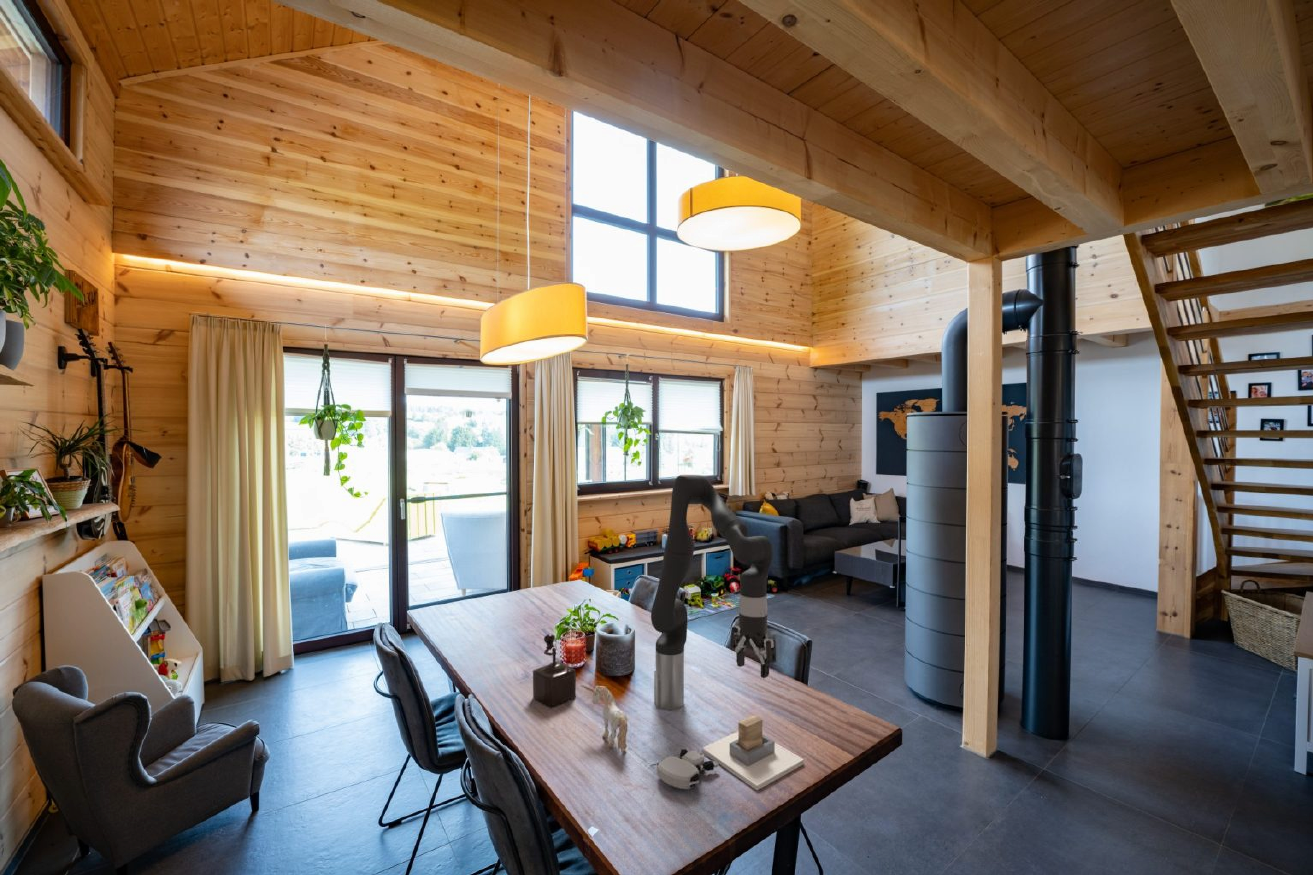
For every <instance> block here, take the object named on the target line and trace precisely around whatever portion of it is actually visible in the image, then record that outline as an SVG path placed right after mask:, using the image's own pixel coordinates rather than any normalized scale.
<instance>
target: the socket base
mask: <svg viewBox="0 0 1313 875" xmlns="http://www.w3.org/2000/svg"><path fill="white" fill-rule="evenodd" d="M738 733H739V730H738V731H736V732H733V733H732V734H730V735H727V736H725V737H723V738H720V739H718V740H717V741H714V742H712V743H710V744H708V745H705V746H704V747H702V748H701V753H702V754H704V755H705V756H707V757H708V758H709V759H711V760H712V761H715V762H717V763H718V765H720V766H721V767H722V768H724V769H725V770H727V771H729V772H730V773H731V774H732V775H734V776H735V777H737V778H739V780H741V781H743V782H744V783H746V784H747V785H748V786H750V787H751V788H752V789H754V790H755V791H759V790H761V789H763V788H764V787H766V786H768V785H769V784H771V783H773V782H775V781H777V780H778V779H780V778H782V777H784V776H785V775H787V774H789V773H791V772H792V771H795V770H797V769H798V768H799V767H801V766H803V765H805V759H804V758H802V757H801V756H799V755H797V754H795V753H793V752H792V751H790V750H789V749H786V748H785V747H784V746H781V745H779V744H778V743H776V742H775V741H774V740H773V739H771V738H770V737H768V736H766V735H764V734H763V733H762V745H760V746H758V747H756V748H754V749H752V750H750V751H748V752H747V751H746V750H744V749H742V748H741V747H739V746H738Z"/></svg>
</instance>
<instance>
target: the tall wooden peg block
mask: <svg viewBox="0 0 1313 875" xmlns="http://www.w3.org/2000/svg"><path fill="white" fill-rule="evenodd" d="M738 731H739V733H738V746H739V747H741V748H742V749H744V750H746V751H747V752H748V751H750V750H752V749H754V748H756V747H758V746H760V745H762V734H763V719H762V718H760V717H758V716H757V715H754V714H753V715H751V716H749V717H746V718H744V719H743V720H740V721H738Z"/></svg>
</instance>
